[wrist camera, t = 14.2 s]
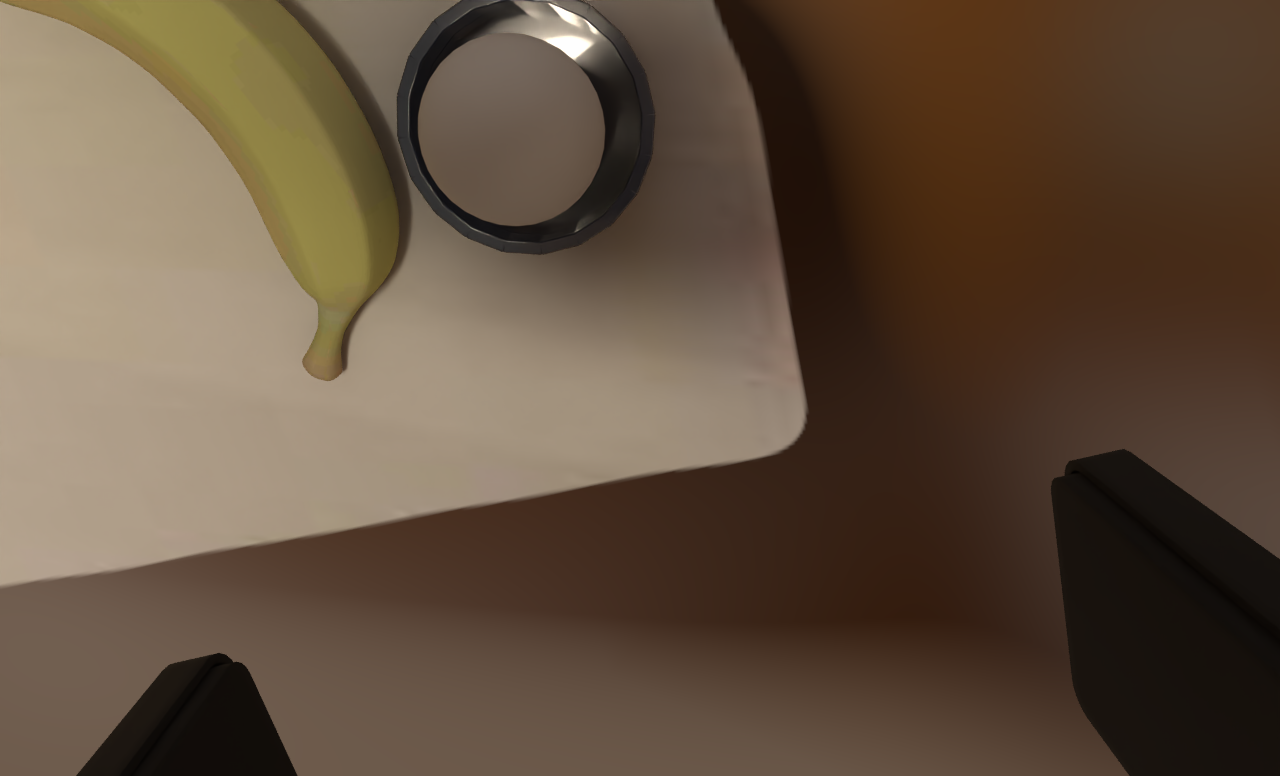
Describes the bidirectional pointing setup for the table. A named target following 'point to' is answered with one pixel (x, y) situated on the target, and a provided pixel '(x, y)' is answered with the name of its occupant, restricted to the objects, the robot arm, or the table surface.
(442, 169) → the lightbulb
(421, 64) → the dark grey round bowl
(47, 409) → the table surface
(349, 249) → the banana
